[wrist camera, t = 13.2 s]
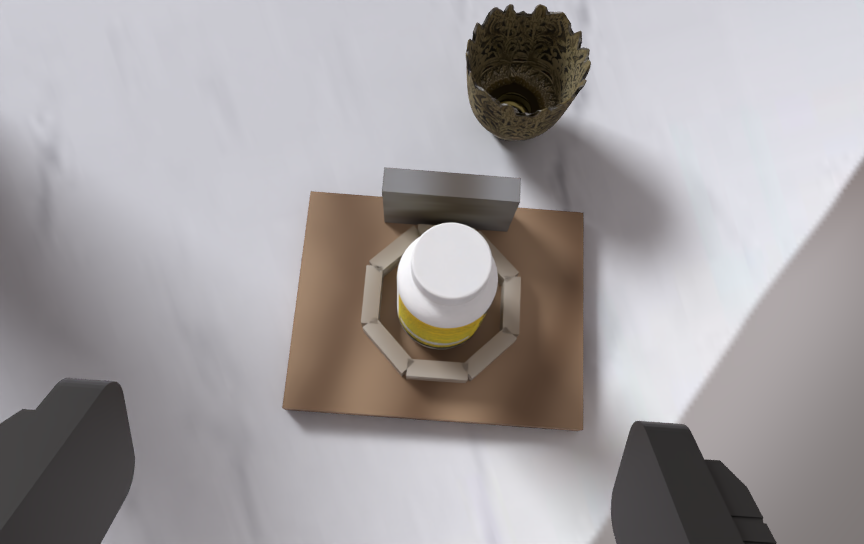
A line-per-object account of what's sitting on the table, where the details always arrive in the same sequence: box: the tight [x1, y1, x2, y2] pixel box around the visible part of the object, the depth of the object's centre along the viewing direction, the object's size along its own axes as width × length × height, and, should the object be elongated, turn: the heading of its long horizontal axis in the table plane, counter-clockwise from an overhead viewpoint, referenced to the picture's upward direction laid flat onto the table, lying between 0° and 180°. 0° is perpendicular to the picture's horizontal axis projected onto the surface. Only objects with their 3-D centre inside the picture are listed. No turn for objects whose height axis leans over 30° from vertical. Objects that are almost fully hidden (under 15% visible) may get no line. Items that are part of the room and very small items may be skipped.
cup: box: [466, 4, 591, 141], centre depth 43 cm, size 8×7×8 cm
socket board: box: [282, 167, 583, 431], centre depth 40 cm, size 18×14×6 cm
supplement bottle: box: [397, 223, 498, 349], centre depth 37 cm, size 5×5×10 cm
